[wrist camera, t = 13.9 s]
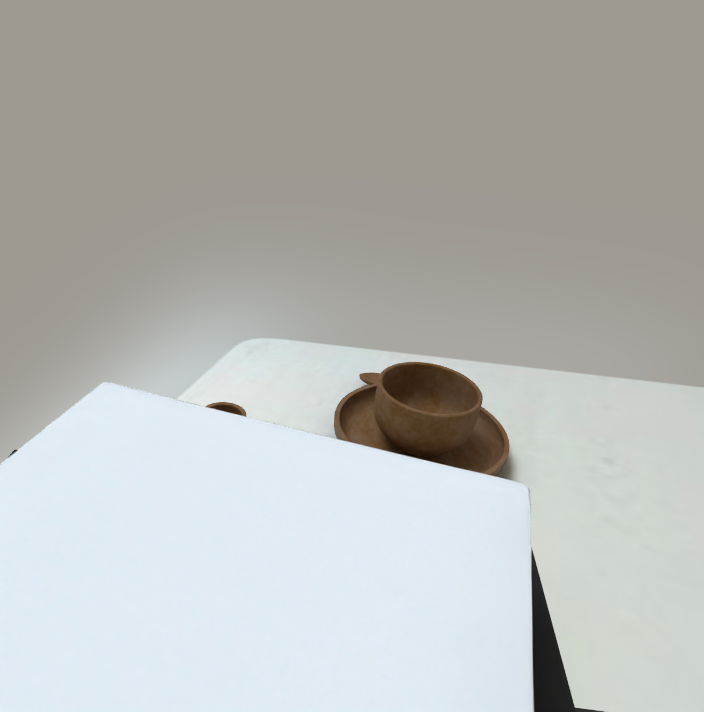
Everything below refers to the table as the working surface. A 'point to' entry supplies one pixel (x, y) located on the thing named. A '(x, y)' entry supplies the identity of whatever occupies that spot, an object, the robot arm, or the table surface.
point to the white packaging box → (254, 570)
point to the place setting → (419, 417)
